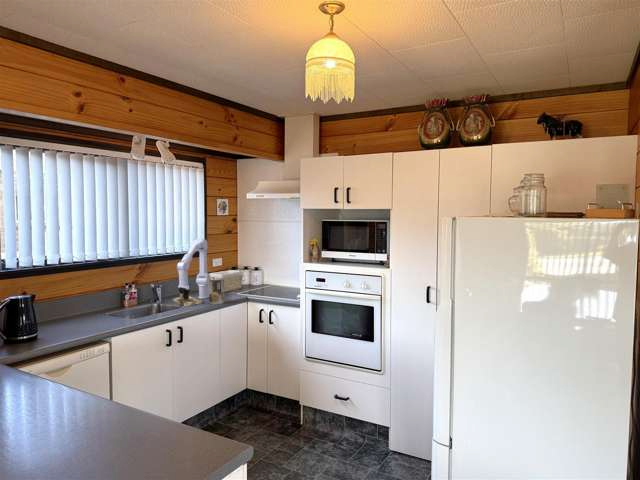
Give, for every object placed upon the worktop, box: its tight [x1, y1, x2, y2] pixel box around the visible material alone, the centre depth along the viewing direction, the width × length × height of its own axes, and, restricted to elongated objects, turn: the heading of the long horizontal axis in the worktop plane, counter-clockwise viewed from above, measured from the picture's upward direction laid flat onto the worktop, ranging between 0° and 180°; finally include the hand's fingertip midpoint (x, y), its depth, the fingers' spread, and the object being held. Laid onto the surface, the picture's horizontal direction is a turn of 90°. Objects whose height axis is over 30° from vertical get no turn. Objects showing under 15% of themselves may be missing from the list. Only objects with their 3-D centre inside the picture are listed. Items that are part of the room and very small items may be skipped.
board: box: [172, 295, 204, 307], centre depth 317 cm, size 12×24×2 cm, turn 38°
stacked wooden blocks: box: [177, 293, 194, 306], centre depth 311 cm, size 10×5×7 cm, turn 128°
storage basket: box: [208, 269, 244, 293], centre depth 362 cm, size 24×16×15 cm
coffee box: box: [208, 280, 226, 305], centre depth 311 cm, size 9×6×16 cm
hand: (184, 298), depth 311 cm, fingers closed on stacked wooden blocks, 4 cm apart
